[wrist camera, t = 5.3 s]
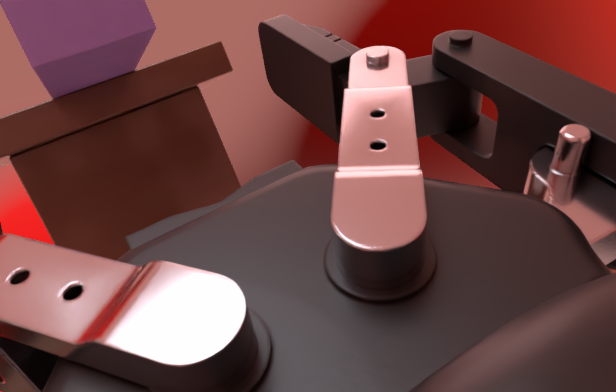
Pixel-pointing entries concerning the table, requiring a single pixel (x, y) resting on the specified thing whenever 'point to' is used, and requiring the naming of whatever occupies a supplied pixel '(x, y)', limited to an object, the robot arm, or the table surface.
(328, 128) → the robot arm
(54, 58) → the purple rectangular bar
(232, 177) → the stand
